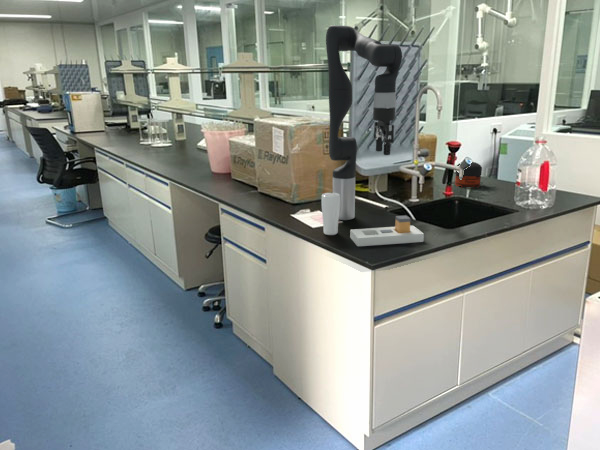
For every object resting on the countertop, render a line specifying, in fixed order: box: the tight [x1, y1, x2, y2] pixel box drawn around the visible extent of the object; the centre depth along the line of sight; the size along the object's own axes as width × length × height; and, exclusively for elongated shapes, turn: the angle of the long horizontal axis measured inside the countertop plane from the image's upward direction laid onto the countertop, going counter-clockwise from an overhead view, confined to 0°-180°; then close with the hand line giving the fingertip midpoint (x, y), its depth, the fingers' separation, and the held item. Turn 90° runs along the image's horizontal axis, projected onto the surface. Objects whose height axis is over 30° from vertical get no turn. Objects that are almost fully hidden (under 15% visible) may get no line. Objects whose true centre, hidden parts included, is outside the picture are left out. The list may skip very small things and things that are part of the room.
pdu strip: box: [349, 225, 425, 247], centre depth 171 cm, size 10×24×3 cm, turn 99°
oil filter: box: [454, 161, 483, 188], centre depth 252 cm, size 13×12×13 cm
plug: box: [394, 215, 411, 233], centre depth 171 cm, size 4×4×8 cm
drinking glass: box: [321, 192, 340, 236], centre depth 177 cm, size 7×7×15 cm
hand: (382, 153), depth 169 cm, fingers open, 8 cm apart
